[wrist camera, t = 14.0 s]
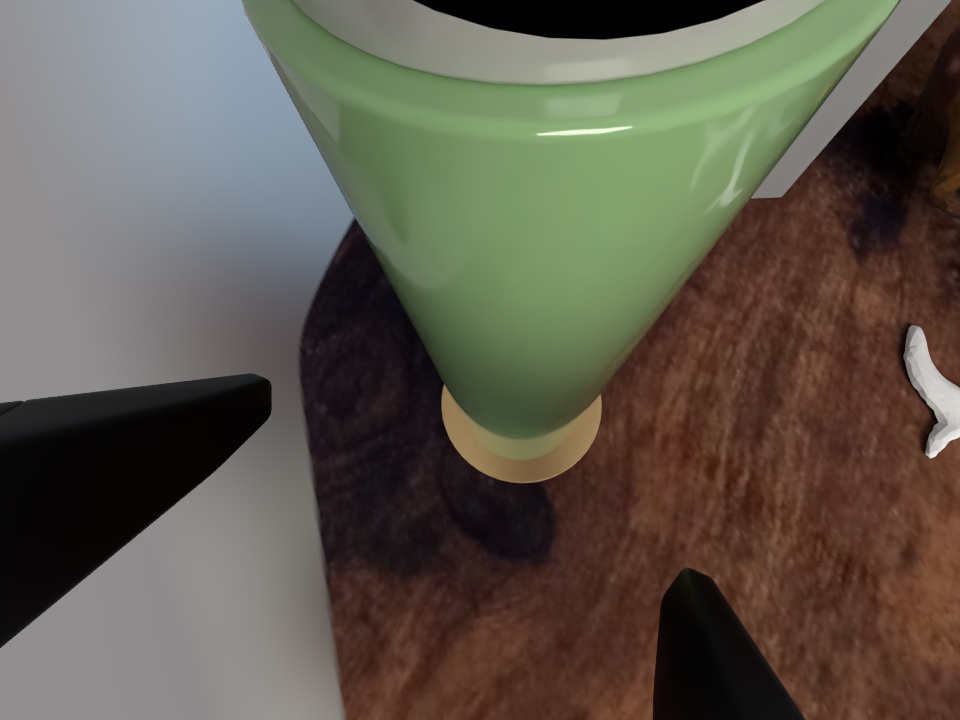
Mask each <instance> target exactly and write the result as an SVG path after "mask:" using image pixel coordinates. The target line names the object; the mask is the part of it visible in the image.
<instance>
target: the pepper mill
mask: <svg viewBox="0 0 960 720" xmlns="http://www.w3.org/2000/svg"><path fill="white" fill-rule="evenodd" d="M242 2H243V6H244V10H245V13H246V15H247V17H248V19H249V21H250V22H251V24H252V26H253V28H254V30H255V32H256V34H257V36H258V38H259V40H260V41H261V43H262V45H263V47H264V49H265V51H266V52H267V54H268V56H269V58H270V60H271V62H272V64H273V66H274V67H275V69H276V71H277V73H278V75H279V77H280V79H281V81H282V82H283V84H284V86H285V88H286V90H287V92H288V93H289V95H290V97H291V99H292V101H293V103H294V105H295V107H296V108H297V110H298V112H299V114H300V116H301V117H302V120H303V122H304V123H305V125H306V127H307V129H308V131H309V133H310V135H311V136H312V138H313V140H314V142H315V144H316V146H317V148H318V149H319V151H320V153H321V155H322V157H323V159H324V161H325V162H326V164H327V166H328V168H329V170H330V172H331V174H332V176H333V177H334V179H335V181H336V183H337V185H338V187H339V188H340V191H341V192H342V194H343V196H344V198H345V200H346V202H347V203H348V205H349V207H350V209H351V211H352V213H353V215H354V217H355V218H356V220H357V222H358V224H359V226H360V228H361V230H362V232H363V233H364V235H365V237H366V239H367V241H368V243H369V245H370V246H371V248H372V250H373V252H374V254H375V256H376V258H377V259H378V261H379V263H380V265H381V267H382V269H383V271H384V273H385V274H386V276H387V278H388V280H389V282H390V284H391V286H392V287H393V289H394V291H395V293H396V295H397V297H398V299H399V300H400V302H401V304H402V306H403V308H404V310H405V312H406V314H407V315H408V317H409V319H410V321H411V323H412V325H413V327H414V328H415V330H416V332H417V334H418V336H419V338H420V340H421V341H422V343H423V345H424V347H425V349H426V351H427V353H428V355H429V356H430V358H431V360H432V362H433V364H434V366H435V368H436V369H437V371H438V373H439V375H440V377H441V379H442V381H443V383H444V384H445V386H446V388H447V390H448V392H449V394H450V396H451V397H452V399H453V401H454V403H455V405H456V407H457V409H458V410H459V412H460V414H461V416H462V418H463V420H464V422H465V424H466V425H467V427H468V429H469V431H470V433H471V434H472V436H473V437H474V438H475V440H476V441H477V442H478V443H479V444H480V445H481V446H483V447H484V448H485V449H486V450H488V451H490V452H491V453H493V454H495V455H497V456H500V457H503V458H506V459H511V460H530V459H535V458H539V457H541V456H544V455H546V454H548V453H550V452H552V451H553V450H555V449H556V448H557V447H558V446H560V445H561V444H562V443H563V441H564V440H565V439H566V438H567V437H568V435H569V434H570V433H571V431H572V430H573V429H574V427H575V426H576V425H577V424H578V422H579V421H580V420H581V418H582V417H583V416H584V414H585V413H586V412H587V411H588V409H589V408H590V407H591V405H592V404H593V403H594V401H595V400H596V399H597V397H598V396H599V395H600V394H601V392H602V391H603V390H604V388H605V387H606V386H607V384H608V383H609V382H610V381H611V379H612V378H613V377H614V375H615V374H616V373H617V371H618V370H619V369H620V368H621V366H622V365H623V364H624V362H625V361H626V360H627V358H628V357H629V356H630V355H631V353H632V352H633V351H634V349H635V348H636V347H637V345H638V344H639V343H640V341H641V340H642V339H643V338H644V336H645V335H646V334H647V332H648V331H649V330H650V328H651V327H652V326H653V325H654V323H655V322H656V321H657V319H658V318H659V317H660V315H661V314H662V313H663V312H664V310H665V309H666V308H667V306H668V305H669V304H670V302H671V301H672V300H673V299H674V297H675V296H676V295H677V293H678V292H679V291H680V289H681V288H682V287H683V285H684V284H685V283H686V282H687V280H688V279H689V278H690V276H691V275H692V274H693V272H694V271H695V270H696V269H697V267H698V266H699V265H700V263H701V262H702V261H703V259H704V258H705V257H706V256H707V254H708V253H709V252H710V250H711V249H712V248H713V246H714V245H715V244H716V243H717V241H718V240H719V239H720V237H721V236H722V235H723V233H724V232H725V231H726V229H727V228H728V227H729V226H730V224H731V223H732V222H733V220H734V219H735V218H736V216H737V215H738V214H739V213H740V211H741V210H742V209H743V207H744V206H745V205H746V203H747V202H748V201H749V200H750V198H751V197H752V196H753V194H754V193H755V192H756V190H757V189H758V188H759V187H760V185H761V184H762V183H763V181H764V180H765V179H766V177H767V176H768V175H769V173H770V172H771V171H772V170H773V168H774V167H775V166H776V164H777V163H778V162H779V160H780V159H781V158H782V157H783V155H784V154H785V153H786V151H787V150H788V149H789V147H790V146H791V145H792V144H793V142H794V141H795V140H796V138H797V137H798V136H799V134H800V133H801V132H802V131H803V129H804V128H805V127H806V125H807V124H808V123H809V121H810V120H811V119H812V117H813V116H814V115H815V114H816V112H817V111H818V110H819V108H820V107H821V106H822V104H823V103H824V102H825V101H826V99H827V98H828V97H829V95H830V94H831V93H832V91H833V90H834V89H835V88H836V86H837V85H838V84H839V82H840V81H841V80H842V78H843V77H844V76H845V74H846V73H847V72H848V71H849V69H850V68H851V67H852V65H853V64H854V63H855V61H856V60H857V59H858V58H859V56H860V55H861V54H862V52H863V51H864V50H865V48H866V47H867V46H868V45H869V43H870V42H871V41H872V39H873V38H874V37H875V35H876V34H877V33H878V32H879V30H880V29H881V28H882V26H883V25H884V24H885V22H886V21H887V20H888V18H889V17H890V15H891V14H892V13H893V11H894V10H895V9H896V7H897V6H898V4H899V3H900V2H901V0H242Z"/></svg>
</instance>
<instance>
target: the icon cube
mask: <svg viewBox="0 0 960 720" xmlns="http://www.w3.org/2000/svg"><path fill="white" fill-rule="evenodd" d="M950 2H951V0H901V2H900V3H899V4H898V6H897V7H896V9H895V10H894V11H893V13H892V14H891V15H890V17H889V18H888V20H887V21H886V22H885V24H884V25H883V26H882V28H881V29H880V30H879V32H878V33H877V34H876V35H875V37H874V38H873V39H872V41H871V42H870V43H869V45H868V46H867V47H866V48H865V50H864V51H863V52H862V54H861V55H860V56H859V58H858V59H857V60H856V61H855V63H854V64H853V65H852V67H851V68H850V69H849V71H848V72H847V73H846V74H845V76H844V77H843V78H842V80H841V81H840V82H839V84H838V85H837V86H836V88H835V89H834V90H833V91H832V93H831V94H830V95H829V97H828V98H827V99H826V101H825V102H824V103H823V104H822V106H821V107H820V108H819V110H818V111H817V112H816V114H815V115H814V116H813V117H812V119H811V120H810V121H809V123H808V124H807V125H806V127H805V128H804V129H803V131H802V132H801V133H800V134H799V136H798V137H797V138H796V140H795V141H794V142H793V144H792V145H791V146H790V147H789V149H788V150H787V151H786V153H785V154H784V155H783V157H782V158H781V159H780V160H779V162H778V163H777V164H776V166H775V167H774V168H773V170H772V171H771V172H770V173H769V175H768V176H767V177H766V179H765V180H764V181H763V183H762V184H761V185H760V187H759V188H758V189H757V190H756V192H755V193H754V194H753V196H752V197H751V198H775V197H782V196H783V195H784V194H785V192H786V191H787V190H788V189H789V188H790V187H791V185H792V184H793V183H794V182H795V181H796V180H797V179H798V177H799V176H800V175H801V174H802V173H803V172H804V170H805V169H806V168H807V167H808V166H809V165H810V163H811V162H812V161H813V160H814V159H815V158H816V157H817V155H818V154H819V153H820V152H821V151H822V150H823V148H824V147H825V146H826V145H827V144H828V143H829V142H830V140H831V139H832V138H833V137H834V136H835V135H836V133H837V132H838V131H839V130H840V129H841V128H842V126H843V125H844V124H845V123H846V122H847V121H848V120H849V118H850V117H851V116H852V115H853V114H854V113H855V111H856V110H857V109H858V108H859V107H860V106H861V105H862V103H863V102H864V101H865V100H866V99H867V98H868V96H869V95H870V94H871V93H872V92H873V91H874V89H875V88H876V87H877V86H878V85H879V84H880V83H881V81H882V80H883V79H884V78H885V77H886V76H887V74H888V73H889V72H890V71H891V70H892V69H893V68H894V66H895V65H896V64H897V63H898V62H899V61H900V59H901V58H902V57H903V56H904V55H905V54H906V53H907V51H908V50H909V49H910V48H911V47H912V46H913V44H914V43H915V42H916V41H917V40H918V39H919V37H920V36H921V35H922V34H923V33H924V32H925V31H926V29H927V28H928V27H929V26H930V25H931V24H932V22H933V21H934V20H935V19H936V18H937V17H938V16H939V14H940V13H941V12H942V11H943V10H944V9H945V7H946V6H947V5H948V4H949V3H950Z"/></svg>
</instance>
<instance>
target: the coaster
mask: <svg viewBox="0 0 960 720" xmlns="http://www.w3.org/2000/svg"><path fill="white" fill-rule="evenodd" d="M601 412H602V400H601V394H600V395H599V396H598V397H597V399H596V400H595V401H594V403H593V404H592V405H591V407H590V408H589V409H588V411H587V412H586V413H585V414H584V416H583V417H582V418H581V420H580V421H579V422H578V424H577V425H576V426H575V427H574V429H573V430H572V431H571V433H570V434H569V435H568V437H567V438H566V439H565V440H564V441H563V443H562V444H561V445H560V446H558V447H557V448H556V449H555V450H553V451H552V452H550V453H548V454H546V455H544V456H541V457H539V458H535V459H530V460H511V459H506V458H503V457H500V456H497V455H495V454H493V453H491V452H490V451H488V450H486V449H485V448H484V447H483V446H481V445H480V444H479V443H478V442H477V441H476V440H475V438H474V437H473V436H472V434H471V433H470V431H469V429H468V427H467V425H466V424H465V422H464V420H463V418H462V416H461V414H460V412H459V410H458V409H457V407H456V405H455V403H454V401H453V399H452V397H451V396H450V394H449V392H448V390H447V388H446V386H445V384H444V387H443V392H442V416H443V421H444V425H445V428H446V431H447V433H448V435H449V438H450V440H451V441H452V443H453V445H454V446H455V448H456V449H457V450H458V452H459V453H460V454H461V455H462V457H463V458H464V459H465V460H466V461H467V462H469V463H470V464H471V465H472V466H473V467H475V468H476V469H477V470H479V471H481V472H482V473H484V474H486V475H488V476H490V477H493V478H495V479H498V480H502V481H506V482H511V483H534V482H539V481H544V480H547V479H550V478H553V477H555V476H557V475H559V474H561V473H563V472H564V471H566V470H567V469H569V468H570V467H572V466H573V465H574V464H575V463H576V462H577V461H579V460H580V459H581V458H582V456H583V455H584V454H585V453H586V452H587V450H588V449H589V447H590V446H591V444H592V442H593V441H594V438H595V436H596V434H597V431H598V428H599V424H600V420H601Z"/></svg>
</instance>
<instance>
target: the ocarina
mask: <svg viewBox="0 0 960 720" xmlns="http://www.w3.org/2000/svg"><path fill="white" fill-rule="evenodd" d="M904 142H905V145H906V147H907V148H908V149H909V150H910V151H912V152H913V153H928V152H934V151H939V150H943V149H945V154H944V156H943V159H942V161H941V163H940V165H939V167H938V169H937V172H936V174H935V176H934V178H933V180H932V183H931V186H930V192H929V196H930V199H931V201H932V203H933V205H934V206H935V207H937V208H938V209H940V210H942V211H944V212H945V213H947V214H949V215H951V216H954V217H956V218H960V24H959V25H958V26H957V28H956V29H955V30H954V31H953V32H952V34H951V35H950V36H949V38H948V39H947V41H946V43H945V45H944V46H943V48H942V50H941V52H940V54H939V56H938V58H937V60H936V62H935V64H934V66H933V68H932V71H931V73H930V75H929V78H928V80H927V82H926V85H925V87H924V89H923V91H922V93H921V95H920V98H919V100H918V102H917V105H916V107H915V110H914V112H913V114H912V116H911V118H910V120H909V123H908V125H907V128H906V130H905V134H904Z"/></svg>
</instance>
